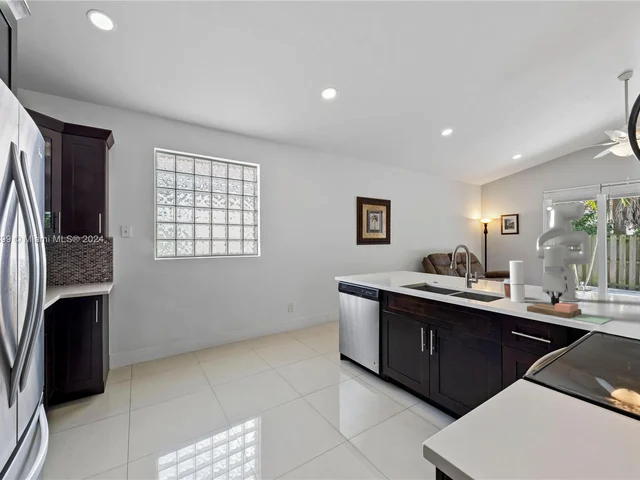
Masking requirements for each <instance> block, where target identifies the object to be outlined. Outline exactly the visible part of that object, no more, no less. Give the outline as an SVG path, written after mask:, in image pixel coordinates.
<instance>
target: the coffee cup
mask: <svg viewBox="0 0 640 480" xmlns="http://www.w3.org/2000/svg"><path fill="white" fill-rule="evenodd" d="M502 284H503V289H504V295H505V296H504V297H505V298H506V299H510V300H511V286H510V278H504V281H502Z"/></svg>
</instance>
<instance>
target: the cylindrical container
mask: <svg viewBox="0 0 640 480" xmlns="http://www.w3.org/2000/svg"><path fill="white" fill-rule="evenodd" d="M524 265H525V263H524V261H523V260H509V279H510V286H511V299H510V301H511V302H512V303H520V304H521V303H526V295H525V294H526V292H525V291H526V290H525V288H526V287H525V268H524V267H525V266H524Z"/></svg>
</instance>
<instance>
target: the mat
mask: <svg viewBox="0 0 640 480" xmlns="http://www.w3.org/2000/svg"><path fill="white" fill-rule="evenodd" d="M569 319H570V320H574V321H581V322H586V323H591V324H596V325H604V324H605V323H608V322H610V321H613V320H615V318H613V317H606V316H601V315H597V314H595V315H594V314H587V313H582V314H581V315H578V316H575V317H572V318H569Z"/></svg>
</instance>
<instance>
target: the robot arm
mask: <svg viewBox="0 0 640 480" xmlns="http://www.w3.org/2000/svg"><path fill="white" fill-rule="evenodd" d="M585 211H586V208H585V205H584V204H583V203H582V202H571V203H568V202H567V203H559V204H557V203H556V204H553V205H552V204H550V205H548V206H547V207H546V208H545V213H546V215H547V217H548V218H547V229H546V230H545V231H543V232H542V233H541V234H540V235H539V236H538V237H537V239H536V243H535V256H536V257H537V258H538V259H540V260H544V271H543V273H542V277H541V289H542V292H543V293H544V294H547V295H548V296H549V297H550V303H551V305H555V304H557V303H560V302H568V303H572V302H573V303H574V302H579V301H580V299H579V297H577V293H576V276H575V275H576V273H575V270H574V269H573V268H572V266H571V265H576V266H577V265H580V266H583V265H586V266H587V265H588V264H589V263H590V262H591V248H590V245H591V244H590V243H591V242H590V236H589V233H588V232H587V231H584V230H578V231H577V230H572V229H573V227H572V222H573V221H580V220H582V219H583V217H584V214H585ZM571 221H572V222H571ZM550 240H553V241H554V244H552V245H550V244H548V245H546V244H545V243H546V242H548V241H550ZM544 244H545V245H544ZM571 247H572V248H571ZM573 247H574V248H573ZM576 247H577V248H576Z"/></svg>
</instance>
